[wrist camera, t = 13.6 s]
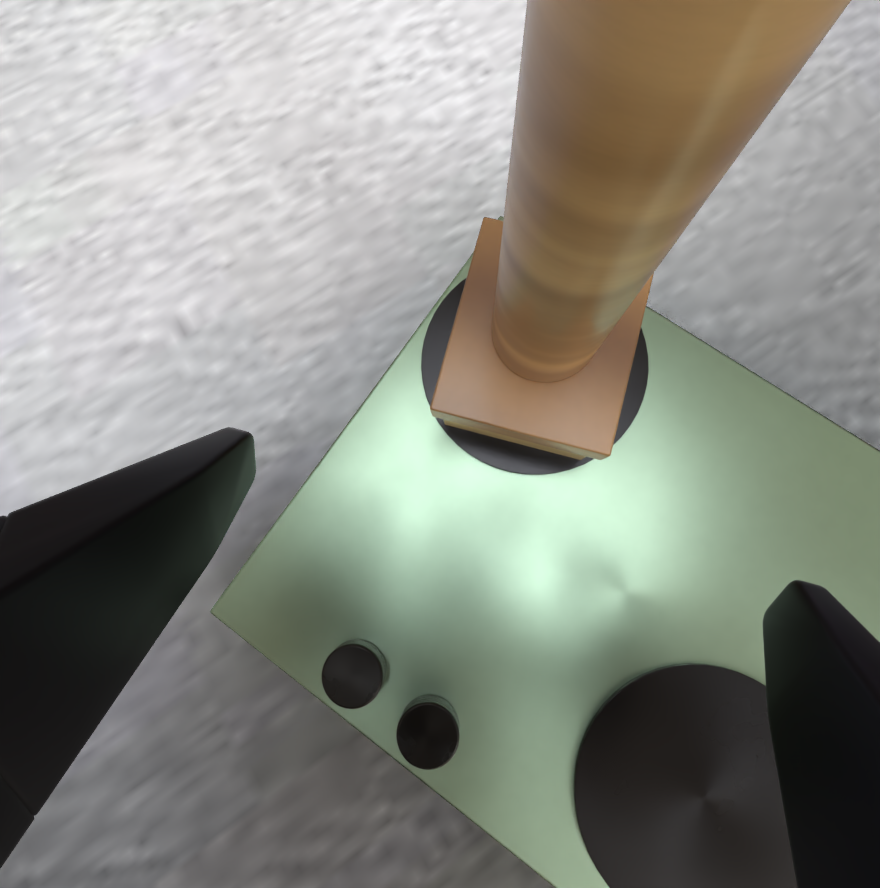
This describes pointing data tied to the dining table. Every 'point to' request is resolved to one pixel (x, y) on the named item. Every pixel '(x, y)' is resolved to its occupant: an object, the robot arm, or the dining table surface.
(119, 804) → the dining table surface
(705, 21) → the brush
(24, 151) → the dining table surface
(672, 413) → the hob
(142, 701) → the dining table surface
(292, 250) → the dining table surface
